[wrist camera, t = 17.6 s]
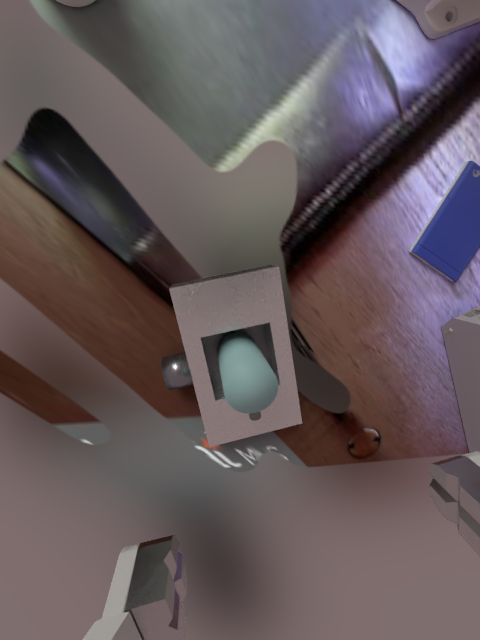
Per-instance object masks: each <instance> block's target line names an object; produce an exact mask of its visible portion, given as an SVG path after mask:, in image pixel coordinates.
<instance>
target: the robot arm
mask: <svg viewBox="0 0 480 640" xmlns="http://www.w3.org/2000/svg"><path fill="white" fill-rule="evenodd" d="M397 1H398V2H399V3H400V4H402V5H403V6H404V7H406V8H407V9H408V10H409V11H410V12H412V13H413V15H414V16H415V17H416V19H417V21H418V23H419V25H420V27H421V29H422V30H423V32H424V33H425V35H426V36H427V37H428V38H430V39H437V38H439V37H442V36H444V35H447V34H450V33H452V32H455V31H457V30H460V29H462V28H465V27H467V26H470V25H472V24H475V23H477V22H480V0H397ZM446 19H447V20H446ZM429 474H430V475H431V476H432V477H433V480H432V482H431V483H430V485H429V486H430V494H431V497H432V499H433V502H434V504H435V505H436V507H437V508H438V510H439V511H440V512H441V513H442V515H443V516H444V517H445V518H446V519H447V520H449V521H451V522H453V523H455V524H457V525H458V530H459V534H460V535H461V536H462V537H463V538H464V539H465V541H466V542H467V543H468V544H469V545H470V546H471V547H472V548H473V549H474V551H475V552H476V553H477V554H478V555H479V556H480V452H478V451H475V452H471V453H468V454H464V455H461V456H455V457H452V458H449V459H445V460H442V461H439V462H435V463H432V464H431V465H430V467H429ZM178 546H179V542H178V540H177V537H176V535H172V536H168V537H164V538H159V539H155V540H151V541H147V542H143V543H139V544H135V545H132V546H128V547H124V548H123V549H122V551H121V553H120V555H119V558H118V562H117V565H116V569H115V573H114V576H113V580H112V584H111V587H110V591H109V594H108V598H107V602H106V605H105V609H104V612H103V616H102V619H100V620H97V621H95V623H94V624H93V626H92V627H91V629H90V630H89V631H88V633H87V634H86V635H85V637H84V638H83V640H184V636H185V617H186V614H185V611H184V608H183V605H182V602H183V600H184V598H185V596H186V594H187V573H186V564H185V560H184V557H183V554H182V553H180V552H179V551H178Z"/></svg>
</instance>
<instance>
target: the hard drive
mask: <svg viewBox="0 0 480 640" xmlns="http://www.w3.org/2000/svg"><path fill="white" fill-rule="evenodd" d="M479 247H480V166H479V165H477V164H476V163H475V162H473V161H467V162H465V163H464V165H463V166H462V168H461V170H460V171H459V173H458V174H457V176H456V177H455V179H454V181H453V182H452V184H451V185H450V187H449V188H448V190H447V192H446V193H445V195H444V196H443V198H442V200H441V201H440V203H439V204H438V206H437V207H436V209H435V211H434V212H433V214H432V215H431V217H430V218H429V220H428V222H427V223H426V225H425V226H424V228H423V230H422V231H421V233H420V234H419V236H418V237H417V239H416V241H415V242H414V244H413V245H412V247H411V248H410V250H409V252H410V253H411V254H412V255H414V256H415V257H417V258H418V259H420V260H421V261H423V262H424V263H425V264H427V265H428V266H430V267H431V268H433V269H434V270H436V271H437V272H438V273H440V274H441V275H443V276H444V277H445V278H447V279H448V280H450V281H451V282H456V281H457V280H458V278H459V277H460V275H461V274H462V272H463V271H464V269H465V268H466V266H467V265H468V263H469V262H470V260H471V259H472V257H473V256H474V255H475V253H476V252H477V250H478V249H479Z"/></svg>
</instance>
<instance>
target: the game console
mask: <svg viewBox="0 0 480 640" xmlns="http://www.w3.org/2000/svg"><path fill="white" fill-rule="evenodd" d="M441 329H442V333H443V338H444V342H445V347H446V351H447V356H448V360H449V364H450V369H451V373H452V378H453V382H454V387H455V391H456V396H457V400H458V405H459V409H460V414H461V418H462V423H463V427H464V432H465V436H466V440H467V445H468V449H469V453H471V452H475V451H478V452H480V306H478V307H476V308H474V309H472V310H470V311H468V312H466V313H463V314H461V315H459V316H457V317H454V318H452V319H451V320H450V321H448V322H447V323H446V324H445V325H444V326H442V327H441Z"/></svg>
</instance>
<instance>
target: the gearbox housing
mask: <svg viewBox="0 0 480 640" xmlns="http://www.w3.org/2000/svg"><path fill="white" fill-rule="evenodd" d="M169 290H170V294H171V298H172V301H173V305H174V309H175V313H176V317H177V321H178V325H179V329H180V333H181V337H182V341H183V345H184V349H185V352H184V353H180V354H175V355H171V356H166V357H163V358H162V372H163V377H164V381H165V384H166V387H167V389H168V390H173V389H178V388H182V387H186V386H190V385H194V388H195V392H196V396H197V400H198V404H199V408H200V412H201V416H202V420H203V424H204V428H205V432H206V436H207V440H208V443H209V447H212V446H216V445H220V444H224V443H228V442H231V441H235V440H239V439H243V438H247V437H251V436H255V435H259V434H263V433H267V432H270V431H274V430H278V429H282V428H286V427H290V426H294V425H298V424H302V418H301V411H300V405H299V398H298V391H297V384H296V378H295V371H294V364H293V357H292V351H291V344H290V337H289V331H288V323H287V318H286V310H285V304H284V296H283V290H282V283H281V277H280V269H279V266H275V265H266V266H261V267H256V268H251V269H246V270H241V271H236V272H231V273H226V274H221V275H216V276H211V277H206V278H201V279H196V280H191V281H186V282H181V283H176V284H172V286H171V287H170V288H169ZM232 333H245V334H247V335H249V336H250V337H251V338H253V340H254V341H255V343H256V344H257V346H258V347H259V349H260V351H261V352H262V354H263V356H264V357H265V359H266V360H267V362H268V364H269V365H270V367H271V369H272V370H273V372H274V373H275V375H276V377H277V380H278V392H277V395H276V397H275V399H274V401H273V402H272V403H271V404H270V405H269V406H268V407H267V408H265V409H264V410H262V411H260V412H261V418H260V419H259V420H256V421H253V420H251V419H250V417H249V413H241V412H238V411H236V410H235V409H233V408H232V407H231V406H230V405H229V404H228V403H227V401H226V399H225V396H224V391H223V385H222V379H221V374H220V368H219V362H218V356H217V349H218V346H219V344H220V342H221V341H222V339H223V338H224V337H226V336H227V335H229V334H232Z"/></svg>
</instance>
